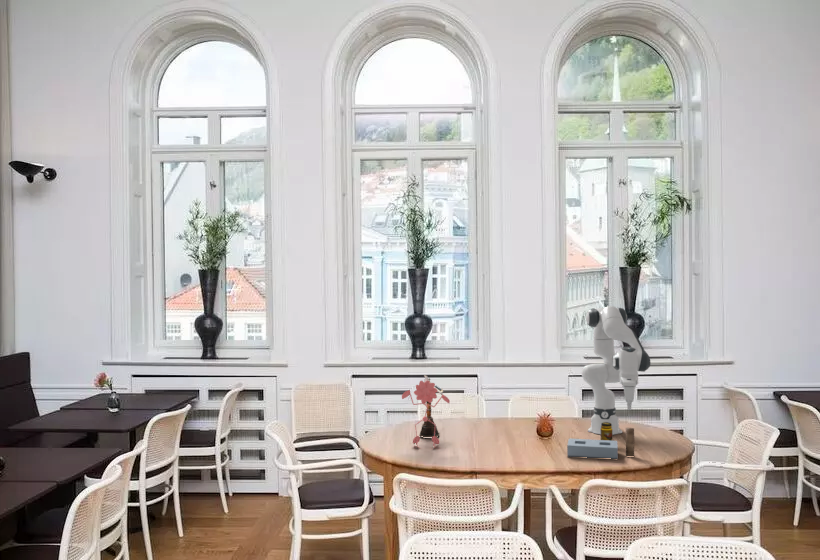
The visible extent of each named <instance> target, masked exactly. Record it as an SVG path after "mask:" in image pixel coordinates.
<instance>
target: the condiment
mask: <svg viewBox="0 0 820 560" xmlns="http://www.w3.org/2000/svg"><path fill="white" fill-rule="evenodd" d="M600 440H610V441H614V440H613V435H612V424H611V423H609V422H603V423H601V434H600Z"/></svg>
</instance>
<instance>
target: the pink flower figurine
mask: <svg viewBox="0 0 820 560" xmlns="http://www.w3.org/2000/svg"><path fill="white" fill-rule="evenodd" d="M430 382H431V380H430V381H429V380H427V381H426V382H425V383H424V380H420V381H419V383H418V384H416V385H415V389H416V390H414V391H413V394H414V395H415V396H416V400H417V401H421V402H420V403H414V400H413V397H412V395H411V391H410V389H409V390H406V391H404V392H403V393H402V395H401V399H402V400H403V399H406V398H408V396H409V397H410V399H411V402H412V405H413V406H417V405H424V406H425V407H426V408H425V415H424V416H423V417H422V419H421V420H420V421H418V422H417V423H416V424H414V427H415V435H416V436H414V438H413V439H412V443H413V444H414V443H416V445H417V446H418V444H419V442H420V441H421V438H420V437H419V435H418V431H417V425H418V424H419V423H421V422H424V421H425V422H426V421H427V420H428V418H427V417H426V416H427V409H428V406H427V405H429V404H427V401H428V402H429V403H431V405H429V406H431V408H435V407H436V406H437V404H438V403H439V402H440V400H441V399H442V400H443V401H445V402H446V403H447V404H450V403H451V401H450V399H449V398H448V397H447V396H446V395H444V394H443V395H441V397H440V398H439V399H438V401H437V402H436V403H435V404H434V405H432V403H433V401H434V400H433V399H435V400H436V399H437V398H438V397H437V394H436V393H438V392H437V391H438V390H437V389H436V388H434V386H435V385H436V383H435V382H431V383H430ZM432 400H433V401H432ZM428 421H429V420H428ZM430 422H431V421H430ZM431 423H433V422H431ZM434 423H435V422H434ZM434 423H433V424H434ZM435 426H436V427H437V425H435ZM431 442H432V443H433V444H432V445H433V446H434V447H435V445H436V444H440V439H439V438H437V437H435V431H434V437H432V439H431ZM416 445H415V446H416Z"/></svg>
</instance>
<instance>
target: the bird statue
mask: <svg viewBox="0 0 820 560" xmlns="http://www.w3.org/2000/svg"><path fill="white" fill-rule="evenodd" d="M423 377H424V380H423V382H424V383H425V382H426V381H427V380H429V381H430V383H432V381H431V378H430V376H429V377H428V375H425V374H424V375H423ZM434 388H436V389H437V390H438V391H437V392H436V393H438V394H440V395H441V396H442V395H444V394H443V393H444V390H443V387H439V386H438V385H436V384H435V386H434ZM433 401H434V400H432V402H433ZM432 402H431V403H429V402H428V401H427V402H426V404H429V405H432ZM429 405H427V406H428V409H427V408H426V409H427V413H426V417H427V418H428V420H429V421H428V420H427V421H426V422H425V421H423V423H422V426H421V430H420V432H419V435H418V436H423V437H434V431H435V437H437V436H439V437H440V432H439V430H438V427H437V425H436V423H435V421H434V418H433V417H432V406H429ZM430 421H431V422H433V423H434V424H433V423H431V422H430ZM435 425H436V426H435Z"/></svg>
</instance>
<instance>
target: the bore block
mask: <svg viewBox="0 0 820 560" xmlns="http://www.w3.org/2000/svg"><path fill="white" fill-rule="evenodd" d="M618 447H619V445H618V440H613V441H610V440H601V439H587V438H585V439H584V438H568V440H567V456H566V457H567V458H570V457H587V458H586V459H588V458H611V459H618V460H619V458H618V457H619V456H618V455H619V453H618V452H619V450H618V449H619V448H618Z"/></svg>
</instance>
